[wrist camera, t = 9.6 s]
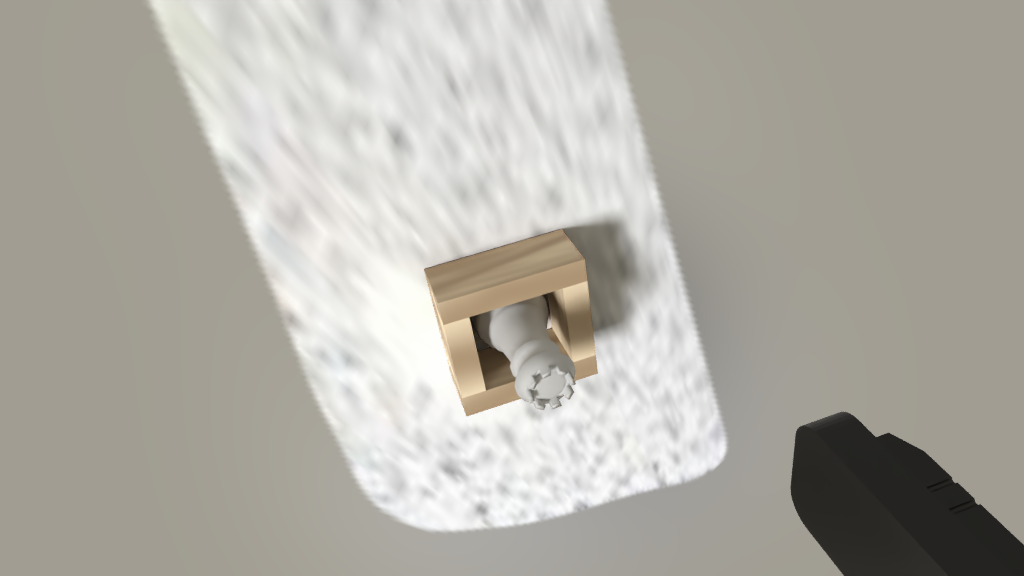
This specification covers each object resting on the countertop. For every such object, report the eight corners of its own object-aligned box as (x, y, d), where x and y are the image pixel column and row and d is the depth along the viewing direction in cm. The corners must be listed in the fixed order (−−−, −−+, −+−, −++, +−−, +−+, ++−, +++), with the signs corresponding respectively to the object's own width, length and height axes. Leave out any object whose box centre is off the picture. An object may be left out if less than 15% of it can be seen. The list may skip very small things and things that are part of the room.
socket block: (424, 269, 41) (437, 303, 38) (561, 229, 42) (585, 259, 40) (452, 378, 46) (466, 416, 43) (575, 339, 47) (597, 373, 44)
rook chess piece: (556, 292, 45) (610, 375, 38) (509, 347, 46) (554, 436, 39) (501, 258, 42) (549, 339, 36) (452, 317, 43) (490, 406, 37)
